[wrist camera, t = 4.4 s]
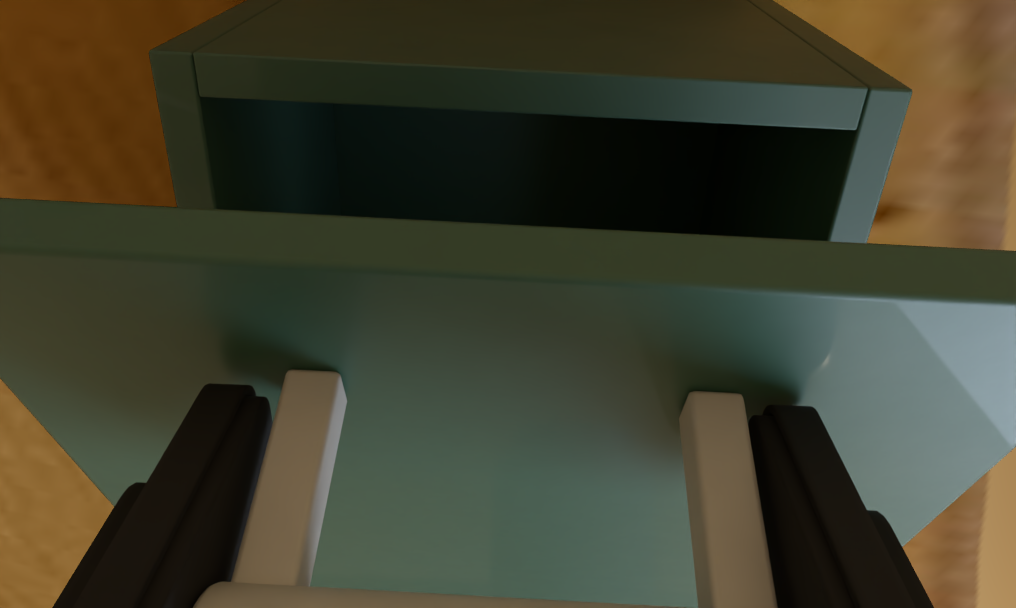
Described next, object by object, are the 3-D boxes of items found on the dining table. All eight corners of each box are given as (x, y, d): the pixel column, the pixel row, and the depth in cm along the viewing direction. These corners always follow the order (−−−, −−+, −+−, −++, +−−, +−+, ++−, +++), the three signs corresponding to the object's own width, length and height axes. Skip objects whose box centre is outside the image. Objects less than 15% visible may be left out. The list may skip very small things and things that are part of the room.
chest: (304, -31, 23) (146, 50, 14) (762, -8, 23) (914, 89, 14) (338, 392, 31) (253, 626, 22) (681, 411, 31) (743, 653, 22)
